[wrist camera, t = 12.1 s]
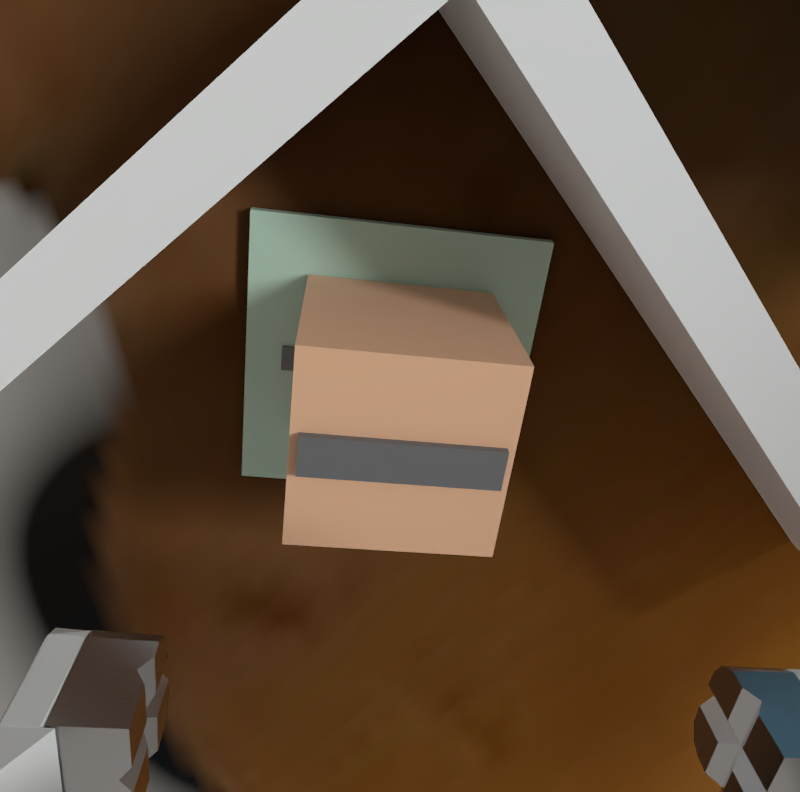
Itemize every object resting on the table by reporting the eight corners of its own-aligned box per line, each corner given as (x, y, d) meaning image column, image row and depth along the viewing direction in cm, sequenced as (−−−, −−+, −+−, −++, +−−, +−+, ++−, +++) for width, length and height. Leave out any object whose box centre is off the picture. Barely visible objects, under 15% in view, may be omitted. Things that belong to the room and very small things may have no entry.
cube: (492, 293, 20) (536, 370, 15) (463, 451, 22) (493, 562, 17) (308, 274, 19) (294, 349, 14) (296, 438, 21) (281, 549, 17)
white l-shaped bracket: (831, 518, 24) (954, 639, 19) (409, 763, 28) (421, 914, 23) (446, -107, 16) (489, -175, 11) (-73, 368, 20) (-213, 474, 15)
